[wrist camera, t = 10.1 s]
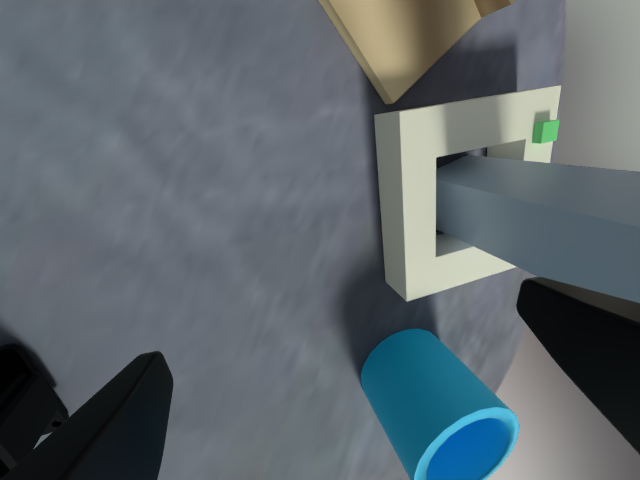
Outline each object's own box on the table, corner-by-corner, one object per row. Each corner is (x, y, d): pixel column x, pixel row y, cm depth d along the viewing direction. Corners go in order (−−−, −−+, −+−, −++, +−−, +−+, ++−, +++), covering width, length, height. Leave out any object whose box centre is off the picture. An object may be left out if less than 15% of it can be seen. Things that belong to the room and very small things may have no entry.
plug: (429, 226, 22) (692, 348, 10) (419, 176, 21) (722, 246, 8) (473, 205, 23) (776, 295, 10) (467, 154, 21) (819, 189, 9)
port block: (385, 281, 23) (411, 306, 20) (374, 114, 18) (405, 111, 15) (501, 247, 25) (542, 264, 22) (517, 91, 21) (571, 83, 17)
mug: (342, 373, 25) (391, 474, 18) (417, 311, 25) (496, 386, 18) (406, 431, 30) (464, 528, 23) (468, 380, 30) (545, 460, 23)
